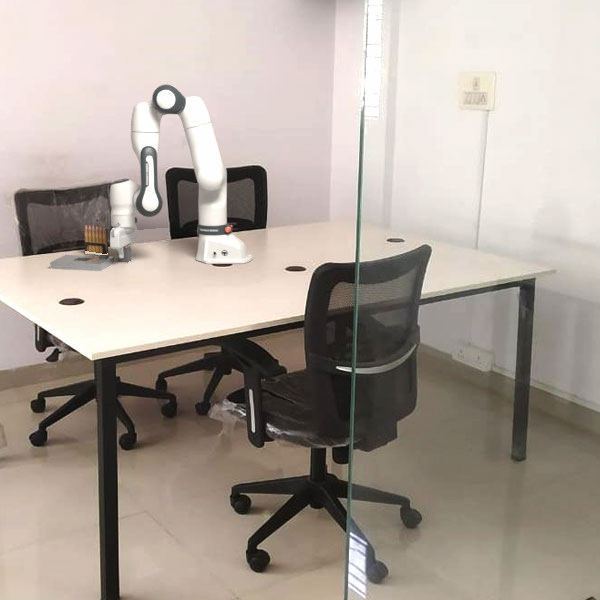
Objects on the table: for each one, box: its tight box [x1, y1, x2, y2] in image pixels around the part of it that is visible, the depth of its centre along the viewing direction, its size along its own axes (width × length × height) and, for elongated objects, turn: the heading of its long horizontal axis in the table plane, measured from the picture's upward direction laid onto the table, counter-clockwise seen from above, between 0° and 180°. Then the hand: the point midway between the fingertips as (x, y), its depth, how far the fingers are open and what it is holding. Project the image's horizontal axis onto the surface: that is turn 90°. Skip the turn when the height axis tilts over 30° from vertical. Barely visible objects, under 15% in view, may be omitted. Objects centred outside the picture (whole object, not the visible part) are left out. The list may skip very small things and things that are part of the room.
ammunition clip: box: [83, 224, 110, 254], centre depth 367 cm, size 11×2×12 cm, turn 66°
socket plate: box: [49, 254, 115, 272], centre depth 347 cm, size 20×14×3 cm
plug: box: [116, 245, 132, 264], centre depth 354 cm, size 4×4×6 cm
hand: (124, 256), depth 355 cm, fingers closed on plug, 4 cm apart
